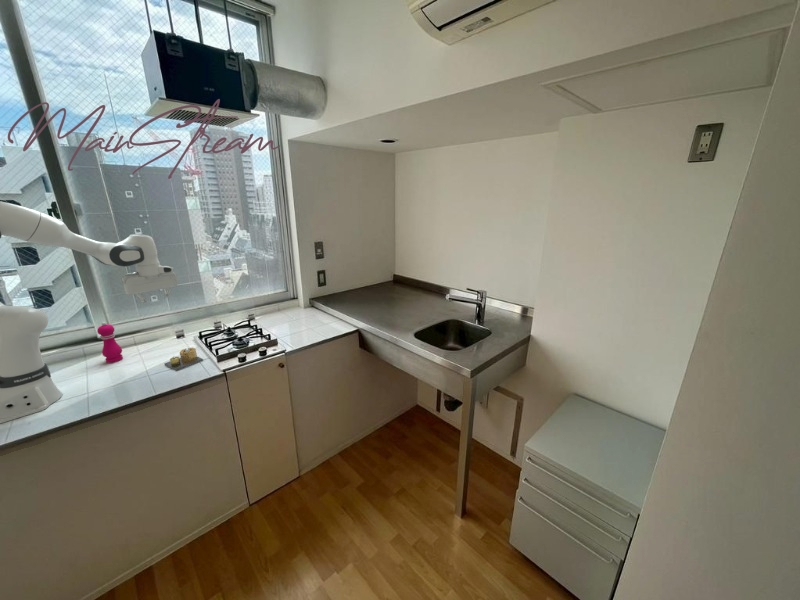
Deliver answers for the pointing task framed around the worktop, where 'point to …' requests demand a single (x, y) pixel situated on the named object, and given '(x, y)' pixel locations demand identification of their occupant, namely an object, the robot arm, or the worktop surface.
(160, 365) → the worktop surface
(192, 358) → the planet gear
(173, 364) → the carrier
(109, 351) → the pepper mill
